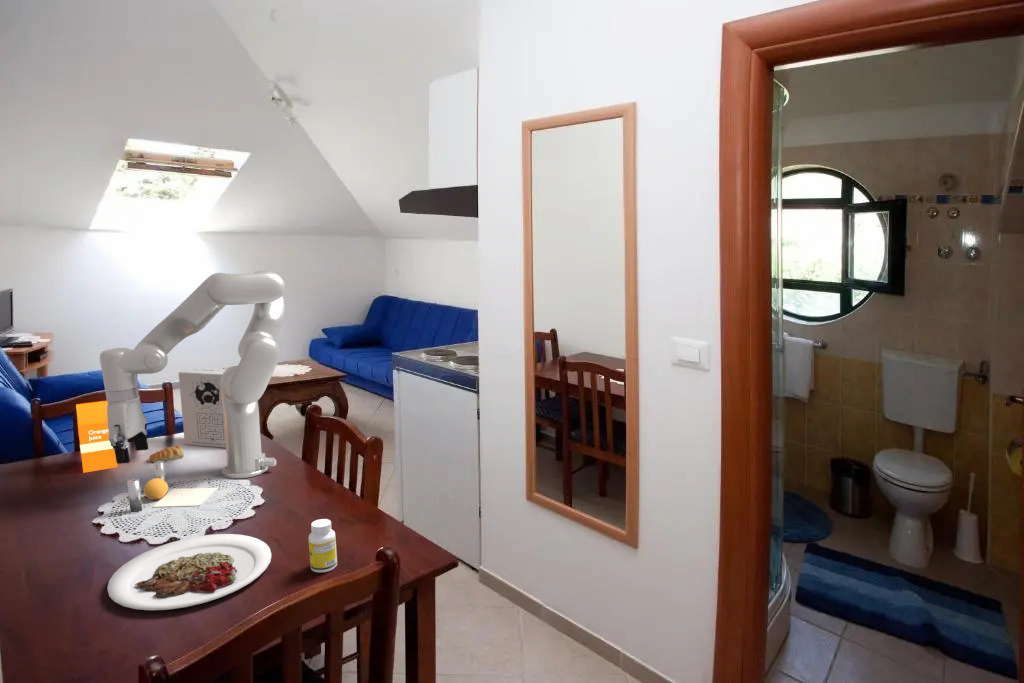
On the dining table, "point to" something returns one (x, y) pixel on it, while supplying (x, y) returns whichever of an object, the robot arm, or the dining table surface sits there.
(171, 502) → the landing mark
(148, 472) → the dining table surface
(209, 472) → the dining table surface
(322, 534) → the supplement bottle
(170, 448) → the pastry
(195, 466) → the dining table surface
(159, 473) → the post right
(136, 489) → the post left
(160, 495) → the ball
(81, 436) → the orange juice
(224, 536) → the plated food
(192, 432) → the cereal box
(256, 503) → the dining table surface
